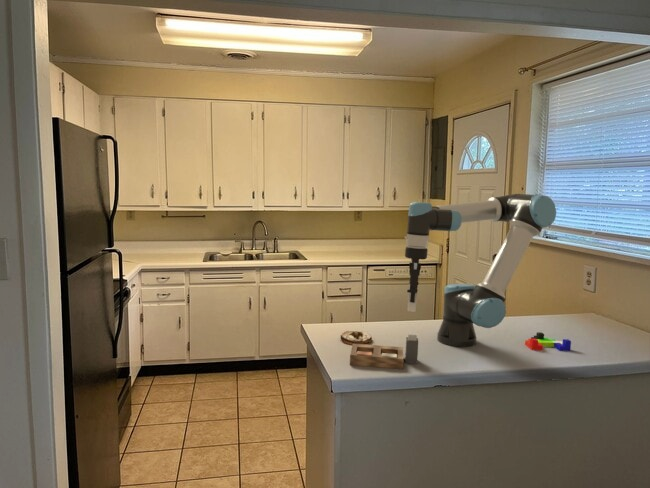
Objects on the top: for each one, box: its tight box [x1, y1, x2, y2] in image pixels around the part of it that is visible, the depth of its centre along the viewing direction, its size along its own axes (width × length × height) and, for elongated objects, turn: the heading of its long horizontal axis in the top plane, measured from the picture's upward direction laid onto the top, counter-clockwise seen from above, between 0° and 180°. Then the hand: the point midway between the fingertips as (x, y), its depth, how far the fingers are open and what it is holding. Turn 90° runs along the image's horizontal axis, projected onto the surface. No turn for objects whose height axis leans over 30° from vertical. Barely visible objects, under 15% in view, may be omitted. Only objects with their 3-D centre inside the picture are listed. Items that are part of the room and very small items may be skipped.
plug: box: [404, 331, 419, 365], centre depth 171 cm, size 4×4×10 cm
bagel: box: [339, 330, 373, 346], centre depth 193 cm, size 15×15×4 cm
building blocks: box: [524, 331, 572, 352], centre depth 194 cm, size 15×13×4 cm
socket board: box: [349, 344, 404, 370], centre depth 171 cm, size 18×12×4 cm, turn 82°
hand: (411, 307), depth 171 cm, fingers open, 13 cm apart
